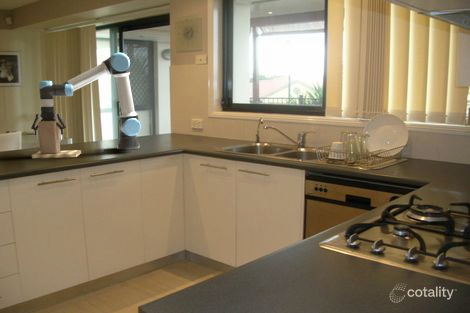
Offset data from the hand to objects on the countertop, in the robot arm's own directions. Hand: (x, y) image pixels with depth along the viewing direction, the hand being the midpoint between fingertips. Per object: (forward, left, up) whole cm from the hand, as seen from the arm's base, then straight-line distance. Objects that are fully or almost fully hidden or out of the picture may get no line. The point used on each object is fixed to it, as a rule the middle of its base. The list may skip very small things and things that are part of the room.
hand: (49, 140), depth 285 cm
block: (0, 0, -8) cm, 8 cm away
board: (-4, 0, -10) cm, 11 cm away
